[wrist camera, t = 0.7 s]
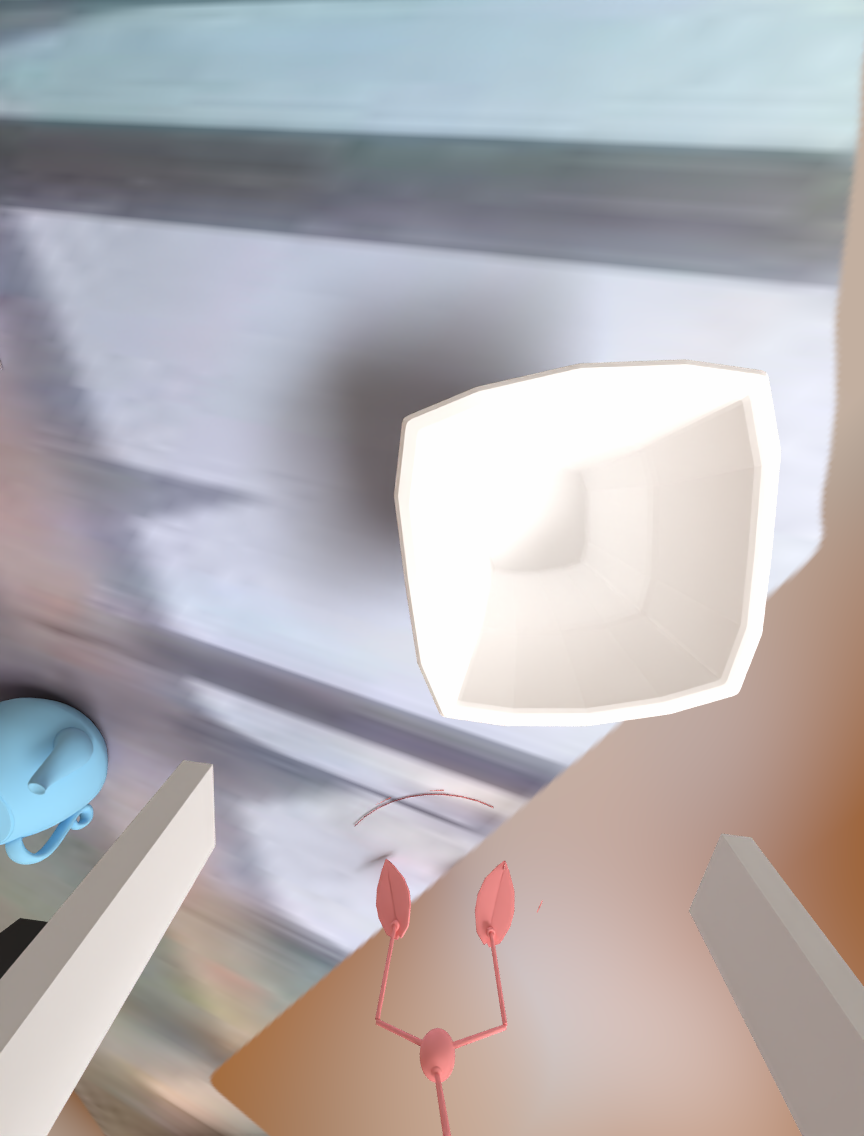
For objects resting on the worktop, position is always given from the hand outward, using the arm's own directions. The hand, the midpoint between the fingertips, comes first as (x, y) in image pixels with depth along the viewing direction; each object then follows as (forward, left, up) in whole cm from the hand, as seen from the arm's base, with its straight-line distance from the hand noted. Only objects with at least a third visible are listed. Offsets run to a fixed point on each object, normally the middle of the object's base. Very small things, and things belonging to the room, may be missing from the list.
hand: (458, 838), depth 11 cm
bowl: (-4, +7, -27) cm, 28 cm away
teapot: (+17, -41, -27) cm, 52 cm away
